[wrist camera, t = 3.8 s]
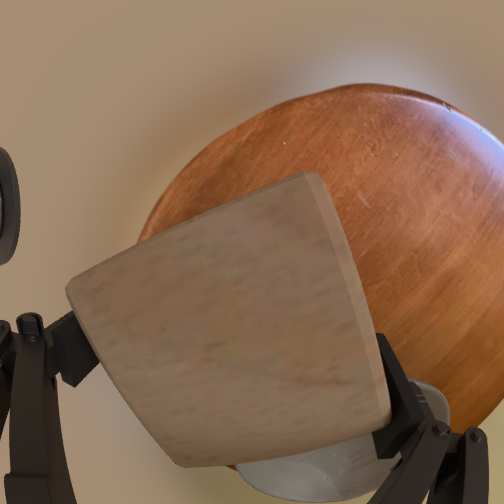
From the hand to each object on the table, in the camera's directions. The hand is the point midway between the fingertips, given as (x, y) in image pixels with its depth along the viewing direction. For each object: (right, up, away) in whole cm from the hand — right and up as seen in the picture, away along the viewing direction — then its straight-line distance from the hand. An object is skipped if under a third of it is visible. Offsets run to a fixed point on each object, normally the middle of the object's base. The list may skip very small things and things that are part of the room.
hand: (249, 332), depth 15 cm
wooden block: (+1, +4, +14) cm, 14 cm away
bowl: (+13, -19, +19) cm, 29 cm away
